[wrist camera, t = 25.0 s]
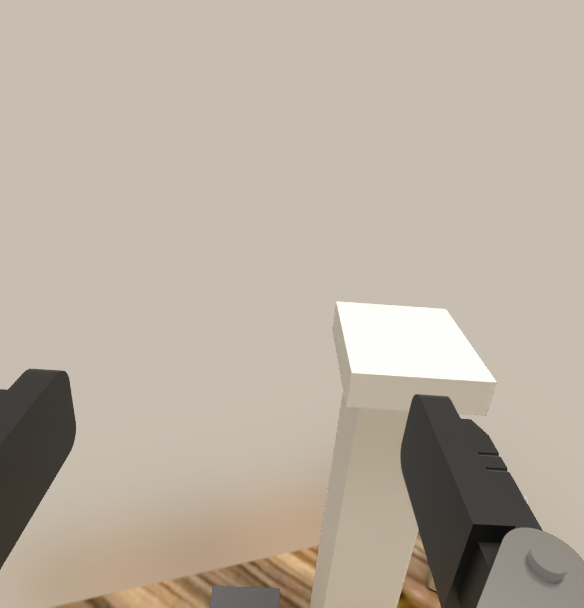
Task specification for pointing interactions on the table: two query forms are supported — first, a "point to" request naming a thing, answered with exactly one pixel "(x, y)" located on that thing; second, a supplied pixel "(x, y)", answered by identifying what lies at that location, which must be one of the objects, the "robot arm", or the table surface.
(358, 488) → the pale stand
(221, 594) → the rubber mallet
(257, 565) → the table surface
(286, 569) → the table surface
